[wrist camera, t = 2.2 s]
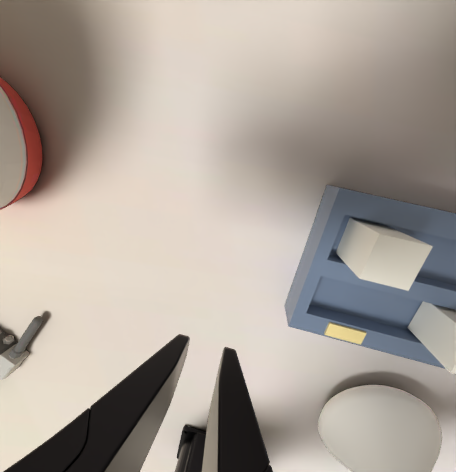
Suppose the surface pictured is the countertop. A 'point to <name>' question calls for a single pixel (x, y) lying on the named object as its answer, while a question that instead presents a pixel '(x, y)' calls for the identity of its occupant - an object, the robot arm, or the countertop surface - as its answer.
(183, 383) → the countertop surface
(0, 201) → the citrus juicer
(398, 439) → the flower in vase
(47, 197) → the countertop surface
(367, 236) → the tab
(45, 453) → the robot arm
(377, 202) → the switch panel
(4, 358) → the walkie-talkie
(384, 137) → the countertop surface
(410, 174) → the countertop surface
